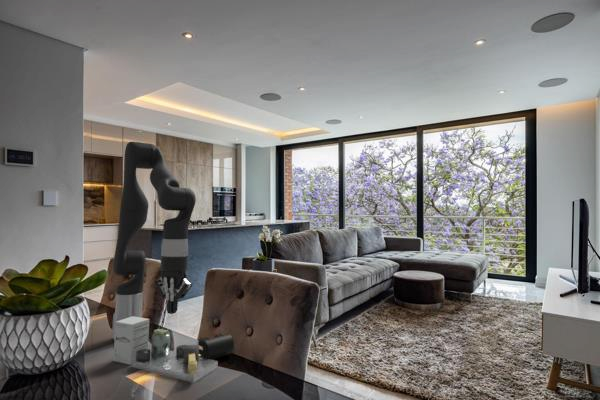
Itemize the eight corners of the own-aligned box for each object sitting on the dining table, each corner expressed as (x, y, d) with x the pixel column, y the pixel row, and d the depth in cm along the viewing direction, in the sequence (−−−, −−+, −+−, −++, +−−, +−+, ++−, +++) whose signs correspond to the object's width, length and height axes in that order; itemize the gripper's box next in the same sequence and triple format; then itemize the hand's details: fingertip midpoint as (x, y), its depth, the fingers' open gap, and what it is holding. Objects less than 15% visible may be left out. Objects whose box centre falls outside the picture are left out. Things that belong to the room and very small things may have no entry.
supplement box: (112, 361, 107) (114, 321, 108) (131, 353, 114) (133, 315, 115) (130, 365, 105) (132, 324, 105) (148, 356, 111) (150, 318, 112)
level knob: (183, 358, 105) (183, 345, 105) (198, 357, 106) (198, 344, 107) (184, 376, 93) (184, 361, 94) (200, 374, 95) (201, 359, 95)
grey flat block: (131, 366, 104) (132, 336, 104) (161, 353, 115) (162, 325, 115) (193, 383, 94) (194, 349, 95) (219, 366, 105) (220, 336, 106)
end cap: (207, 365, 106) (208, 343, 107) (196, 358, 111) (197, 337, 111) (234, 356, 113) (234, 336, 114) (222, 350, 118) (223, 331, 119)
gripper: (147, 253, 99) (144, 313, 98) (183, 256, 94) (180, 319, 93) (167, 251, 106) (164, 307, 105) (200, 254, 101) (198, 313, 100)
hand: (171, 313), depth 99 cm, fingers closed
